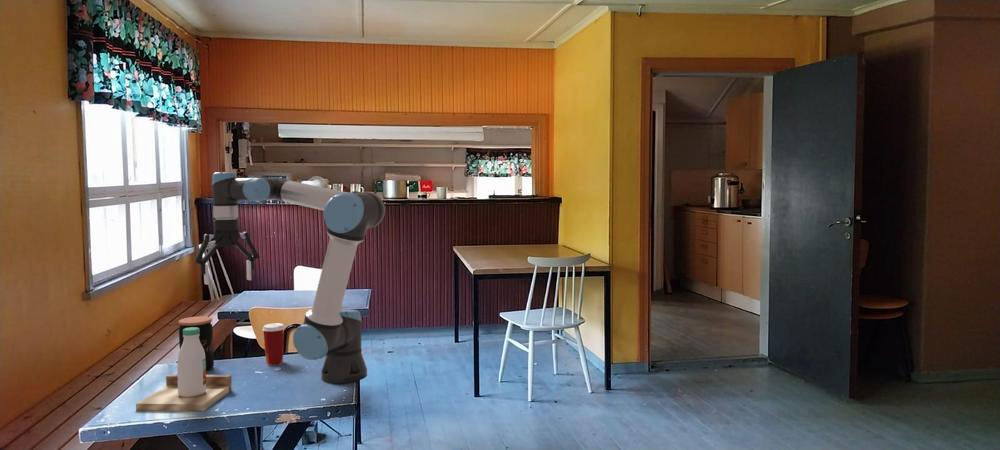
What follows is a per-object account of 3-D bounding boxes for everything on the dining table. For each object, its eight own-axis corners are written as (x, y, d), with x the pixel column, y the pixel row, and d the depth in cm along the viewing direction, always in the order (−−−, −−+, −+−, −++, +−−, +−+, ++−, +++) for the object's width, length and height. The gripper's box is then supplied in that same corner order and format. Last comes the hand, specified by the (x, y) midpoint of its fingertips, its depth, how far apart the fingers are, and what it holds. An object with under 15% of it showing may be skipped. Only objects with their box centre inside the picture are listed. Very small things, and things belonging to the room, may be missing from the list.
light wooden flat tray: (231, 390, 204) (231, 374, 203) (203, 411, 186) (202, 394, 186) (170, 389, 205) (169, 374, 204) (136, 410, 187) (135, 393, 186)
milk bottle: (199, 397, 191) (198, 331, 190) (173, 397, 191) (172, 331, 189) (210, 389, 199) (209, 325, 197) (185, 389, 198) (184, 325, 197)
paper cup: (290, 361, 235) (289, 324, 234) (274, 367, 229) (273, 328, 227) (274, 359, 239) (273, 322, 238) (258, 364, 232) (257, 326, 231)
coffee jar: (200, 375, 219) (198, 323, 218) (173, 373, 221) (171, 322, 220) (220, 366, 230) (218, 316, 228) (194, 364, 232) (192, 315, 231)
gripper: (260, 216, 224) (262, 276, 225) (182, 219, 208) (185, 284, 210) (267, 217, 218) (269, 279, 219) (187, 220, 202) (190, 287, 204)
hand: (228, 282), depth 215 cm, fingers open, 13 cm apart
